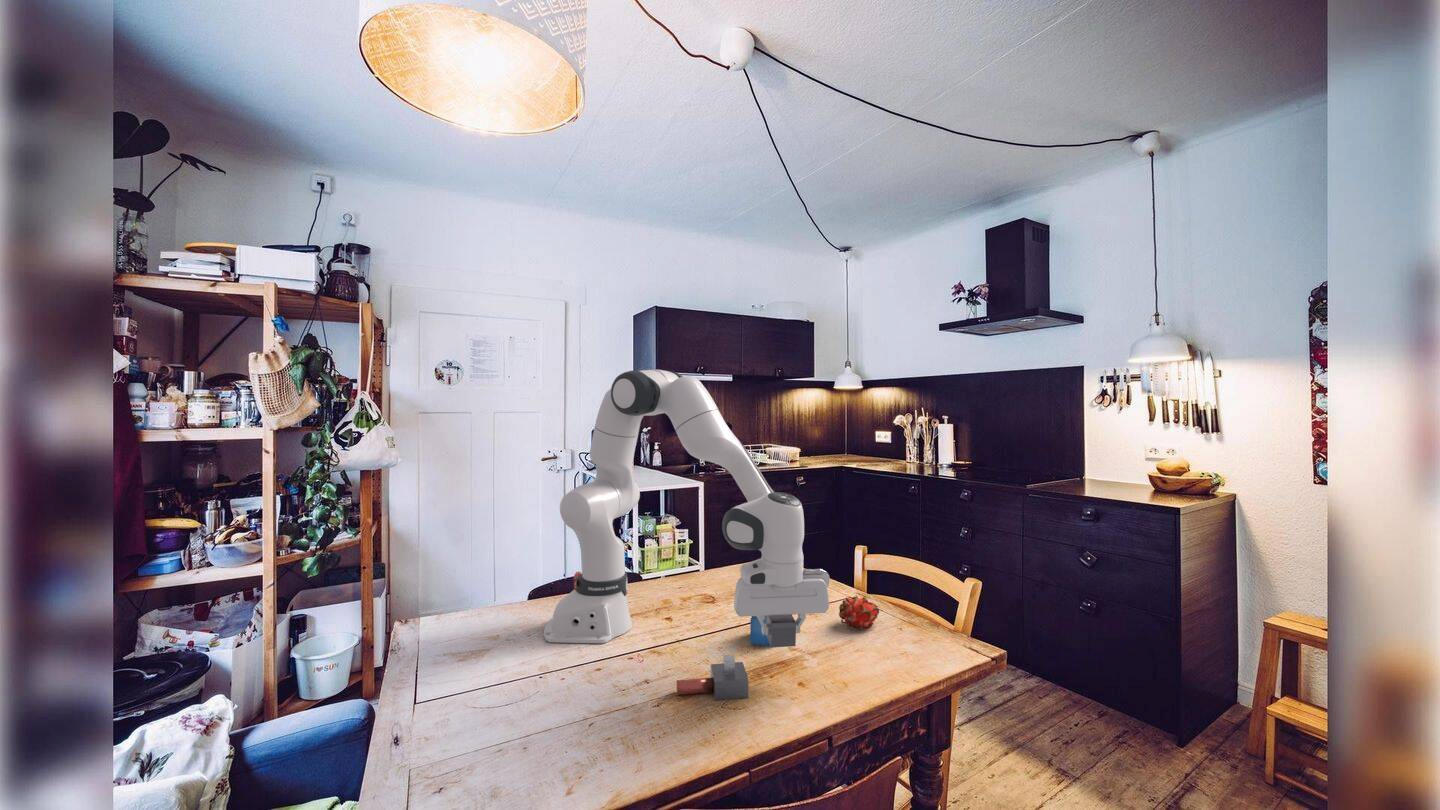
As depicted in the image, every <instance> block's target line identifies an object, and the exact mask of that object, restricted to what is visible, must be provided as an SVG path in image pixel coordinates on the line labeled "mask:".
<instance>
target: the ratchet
mask: <svg viewBox="0 0 1440 810" xmlns="http://www.w3.org/2000/svg"><path fill="white" fill-rule="evenodd" d="M735 659H736V658H735V656H734V654H727V655H726V654H725V655H722V663H714V664H713V663H712V664H710V676H709V677H697V678H687V679H677V680H676V695H677V696H679V695H680V696H681V695H695V694H705V693H712V694H713V698H714V699H713V700H714V701H726V700H737V699H749V676H748V674H747V671H746V667H745V665H744V662H743V661H736V660H735Z"/></svg>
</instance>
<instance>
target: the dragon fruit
mask: <svg viewBox="0 0 1440 810" xmlns="http://www.w3.org/2000/svg"><path fill="white" fill-rule="evenodd" d="M841 602H842V603H840V605H839V609H838V610H839V612H838V616H839V618H840V619H841V621H840V622H841V623H842V624H843V625H848V626H849V628H853V627H856V628H857V629H859V630H860V631H861V630H863V629H864V627H866V628H871V627H872V626H873V625H874V622H875V621H876V619H877V618H878V616H879V614H880V608H878V606H877V605H876V603H874V602H873V601H872V602H871V601H869V600H868V599H867V596H862V598H859V596H857V595H856V596H853V597H852V598H850V597H845V599H843V600H842V601H841Z"/></svg>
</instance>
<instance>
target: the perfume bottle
mask: <svg viewBox="0 0 1440 810" xmlns="http://www.w3.org/2000/svg"><path fill="white" fill-rule="evenodd" d="M749 622H750V623H749V624H750V627H749V628H750V645H754V646H755V645H756V646H763V647H764V646H765V647H771V646H770V643H769V641H768V639H767V636H766V635H763V634H762V625H761V624H760V622H759V620H758V618H757V616H750V621H749ZM763 622H764V623H765V624H767V616H765V620H763ZM766 645H767V646H766Z"/></svg>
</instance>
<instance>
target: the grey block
mask: <svg viewBox="0 0 1440 810" xmlns="http://www.w3.org/2000/svg"><path fill="white" fill-rule="evenodd" d="M767 624H769V626H770V631H769V632H770V634H769V635H766V636H767V639H768V641H769V643H770V646H769V647H770V648H785V647H786V648H787V647H788V648H790V647H796V645H797V644H796V643H797V642H796V640H797V639H796V637H797V633H796V619H795V617H794V616H793V614H790V615H767Z"/></svg>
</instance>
